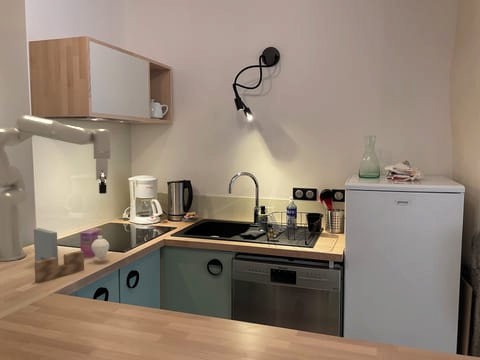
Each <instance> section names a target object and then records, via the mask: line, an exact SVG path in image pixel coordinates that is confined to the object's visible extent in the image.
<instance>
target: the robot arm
mask: <svg viewBox="0 0 480 360" xmlns="http://www.w3.org/2000/svg"><path fill="white" fill-rule="evenodd" d="M33 136H36V137H41V138H47V139H49V140H55V141H60V142H65V143H69V144H75V145H80V146H82V145H93V148H92V149H93V150H92V151H93V159H94V160H95V180H96V181H99V182H98V193H99V194H107V180H108V177H109V176H108V174H109V160H111V131H110V129H107V128H95V129H93V128H87V127H79V126H72V125H68V124H64V123H60V122H59V121H57V120H55V119H49V118H44V117H40V116H36V115H32V114H31V115H30V114H22V115H20V116H19V117H18V118H17V119H16V121H15V124H14V125H11V126H10V127H0V188H3V190H2V191H1V192H0V262H10V261H11V262H12V261H19V260H21V259H24V258H25V257H27V256H28V255H27V252H25V251H23V250H24V249H23V231H22V216H21V213H20V212H21V211H20V208H21V207H22V206H24V205H25V204H26V203H27V201H28V194H27V193H28V192H27V190H26V184H25V182H24V177H23V175H22V172H21V171H20V170H19V168H18V167H16V166H14V165H11V163H10V161H9V159H10V158H9V155H8V154H7V152H6V150H5V148H6V147H13V146H14V147H15V146H17V145H20V144H21V143H24V142H25V141H27V140H29V139H31V138H32V137H33Z"/></svg>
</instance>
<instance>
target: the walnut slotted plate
mask: <svg viewBox="0 0 480 360" xmlns="http://www.w3.org/2000/svg"><path fill="white" fill-rule="evenodd" d="M82 271H85V257H84V252H83V251H81V250H78V251H74V252H69V253H65V254H63V264H58V266H57V258H54V257H52V258H48V259H44V260H40V261H36V262H35V261H34V275H35V276H34V278H35V279H34V280H35V283H37V282H38V283H37V284H40V282H41V283H44V282H48V281H50V280H54V279H55V280H56V279H58V278H61V277H64V276H68V275H71V274H75V273H78V272H82Z"/></svg>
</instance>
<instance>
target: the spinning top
mask: <svg viewBox="0 0 480 360" xmlns="http://www.w3.org/2000/svg"><path fill="white" fill-rule="evenodd" d="M109 243H110V242H108V241H107V239H105V238H103V235H102V236H98V239H97V240H95V241H94V242H93V243H92V245H91V248H92V251H93V253H94V254H95V255H96V256H95V257H96V258H97V259H98V260H99V261H100V263H102V260H103V259H104V258H105V256H106V255H107V253H108V251H109V249H110V244H109Z"/></svg>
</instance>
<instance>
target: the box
mask: <svg viewBox="0 0 480 360" xmlns="http://www.w3.org/2000/svg"><path fill="white" fill-rule="evenodd" d="M98 236H102V237H103V228H100V227H98V228H97V227H92V228H89V229H86V230H84V231H81V232H80V236H79V237H80V238H79V239H80V251H83V252H84V258H85V259H86V258H89V259H91V258H93V257H96V255H95V254H94V253H93V251H92V248H91V245H92V243H93V242H94V241H95V240H97V239H98Z"/></svg>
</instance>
